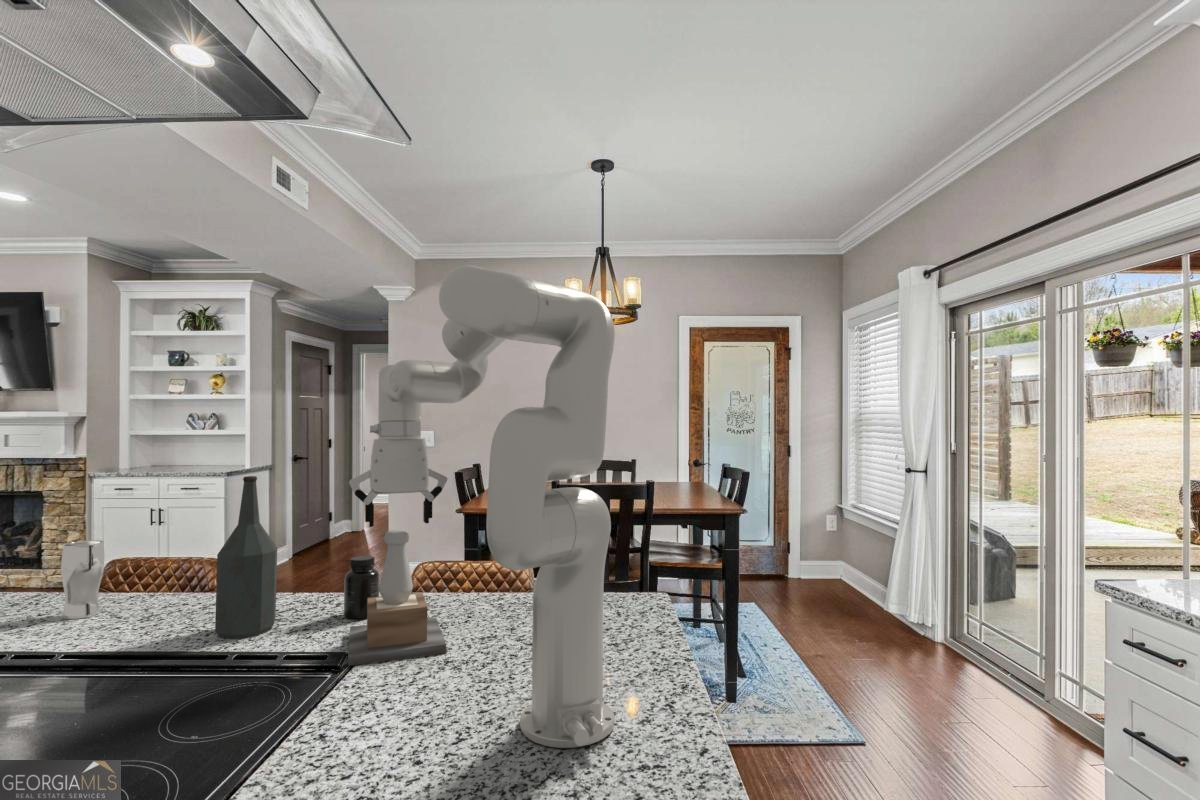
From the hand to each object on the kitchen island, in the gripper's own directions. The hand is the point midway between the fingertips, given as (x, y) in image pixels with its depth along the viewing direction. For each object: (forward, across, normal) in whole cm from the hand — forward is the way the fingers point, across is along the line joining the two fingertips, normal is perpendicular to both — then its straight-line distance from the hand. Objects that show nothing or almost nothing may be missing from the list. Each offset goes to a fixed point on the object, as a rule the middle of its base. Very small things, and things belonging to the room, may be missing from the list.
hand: (399, 524), depth 112 cm
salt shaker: (+14, 0, 0) cm, 14 cm away
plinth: (+22, 0, +1) cm, 22 cm away
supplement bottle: (+22, -6, +21) cm, 31 cm away
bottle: (+22, -27, +19) cm, 40 cm away
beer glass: (+21, -61, +42) cm, 77 cm away
